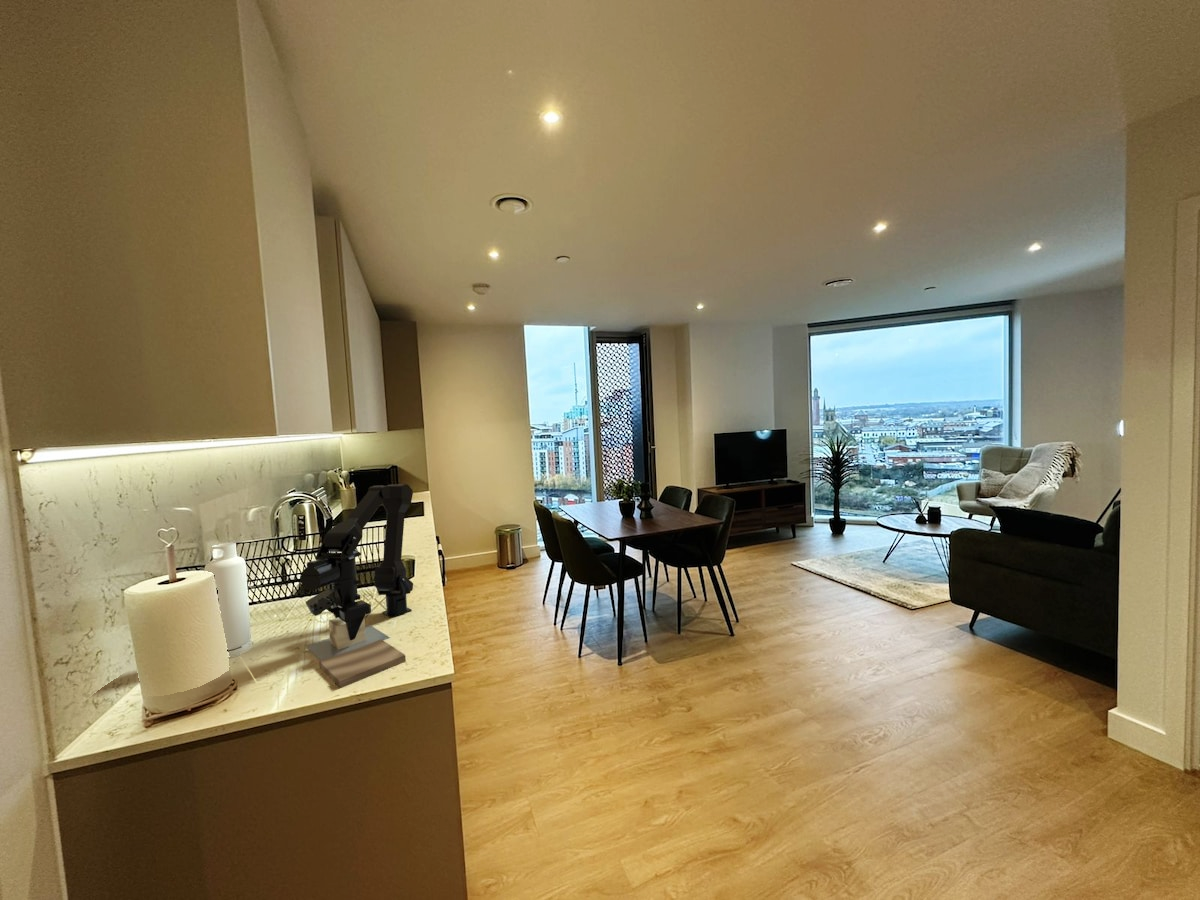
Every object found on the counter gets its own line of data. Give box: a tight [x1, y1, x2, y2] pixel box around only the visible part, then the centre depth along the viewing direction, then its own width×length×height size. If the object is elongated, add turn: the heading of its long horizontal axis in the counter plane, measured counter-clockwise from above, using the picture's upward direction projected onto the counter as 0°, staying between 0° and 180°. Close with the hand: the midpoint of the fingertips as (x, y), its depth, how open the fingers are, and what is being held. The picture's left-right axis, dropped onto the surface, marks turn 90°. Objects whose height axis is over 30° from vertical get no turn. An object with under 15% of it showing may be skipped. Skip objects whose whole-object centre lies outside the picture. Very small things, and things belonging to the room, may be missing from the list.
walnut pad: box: [318, 639, 407, 689], centre depth 104 cm, size 14×14×2 cm
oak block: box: [328, 617, 366, 650], centre depth 116 cm, size 6×6×6 cm
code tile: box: [304, 624, 391, 661], centre depth 116 cm, size 14×16×1 cm
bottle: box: [204, 542, 253, 659], centre depth 113 cm, size 8×8×28 cm
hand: (347, 636), depth 116 cm, fingers closed on oak block, 6 cm apart
